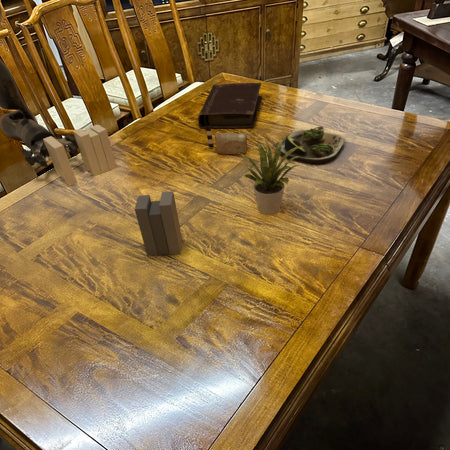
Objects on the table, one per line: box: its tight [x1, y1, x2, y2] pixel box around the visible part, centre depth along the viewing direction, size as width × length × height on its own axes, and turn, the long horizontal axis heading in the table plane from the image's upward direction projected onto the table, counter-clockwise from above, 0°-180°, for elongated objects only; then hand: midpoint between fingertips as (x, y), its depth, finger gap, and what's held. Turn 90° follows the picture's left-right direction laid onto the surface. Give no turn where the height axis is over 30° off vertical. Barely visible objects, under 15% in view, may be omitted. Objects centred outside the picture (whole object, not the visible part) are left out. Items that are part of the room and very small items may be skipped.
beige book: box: [43, 136, 78, 187], centre depth 114 cm, size 8×2×11 cm, turn 39°
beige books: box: [72, 124, 118, 177], centre depth 116 cm, size 5×7×12 cm
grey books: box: [134, 190, 183, 257], centre depth 88 cm, size 5×7×12 cm
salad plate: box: [272, 125, 345, 165], centre depth 118 cm, size 19×18×5 cm
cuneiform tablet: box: [204, 126, 248, 155], centre depth 119 cm, size 7×4×12 cm
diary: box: [197, 82, 262, 129], centre depth 139 cm, size 19×25×5 cm
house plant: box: [237, 137, 303, 216], centre depth 94 cm, size 14×14×16 cm
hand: (60, 158), depth 111 cm, fingers open, 8 cm apart
